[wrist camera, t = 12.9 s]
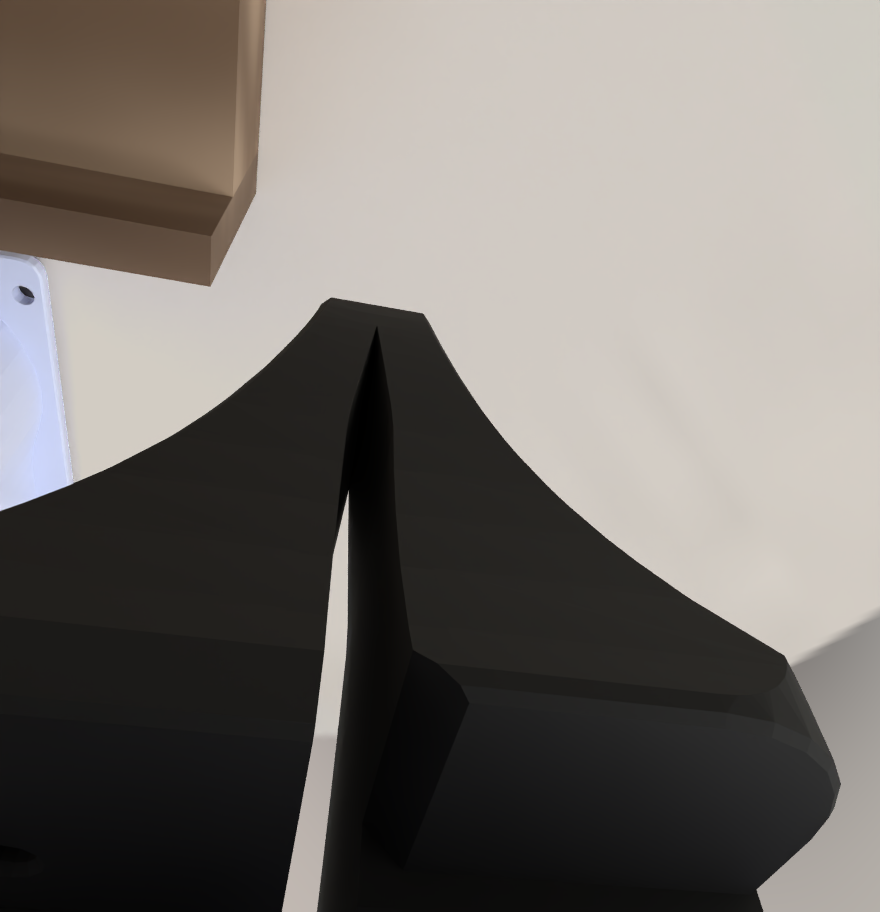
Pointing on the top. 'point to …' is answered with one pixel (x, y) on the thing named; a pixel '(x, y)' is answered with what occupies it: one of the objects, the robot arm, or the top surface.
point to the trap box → (129, 131)
